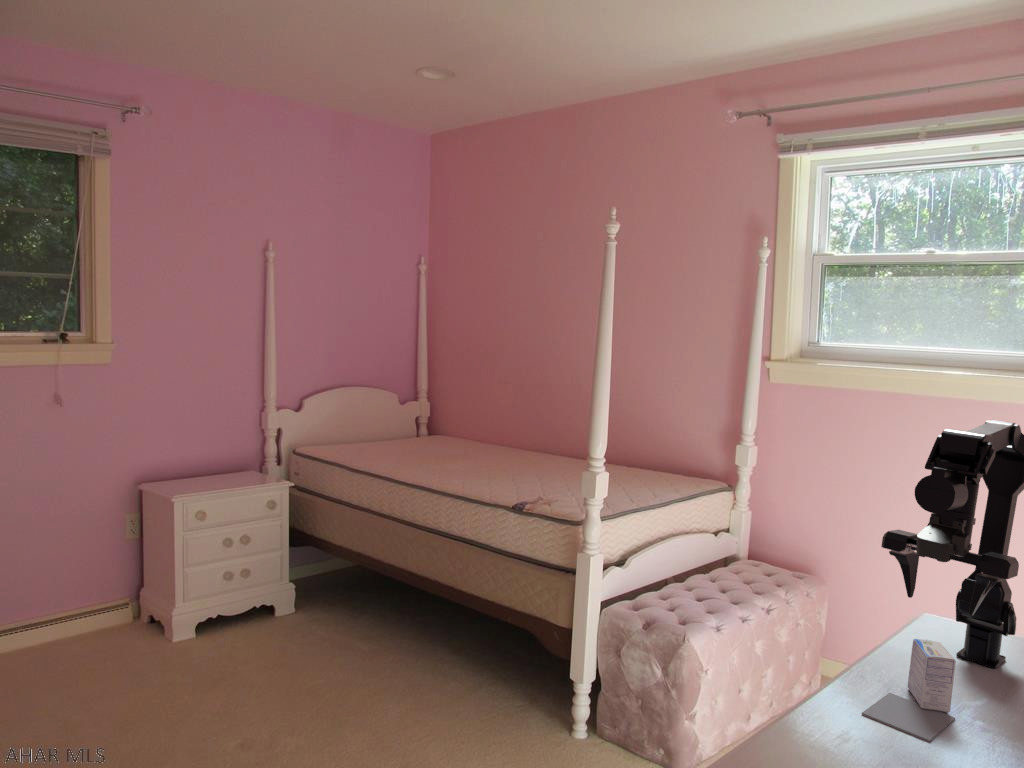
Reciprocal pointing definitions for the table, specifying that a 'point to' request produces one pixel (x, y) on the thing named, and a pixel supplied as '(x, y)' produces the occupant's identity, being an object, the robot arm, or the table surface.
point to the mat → (908, 717)
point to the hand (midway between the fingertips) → (939, 606)
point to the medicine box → (931, 675)
